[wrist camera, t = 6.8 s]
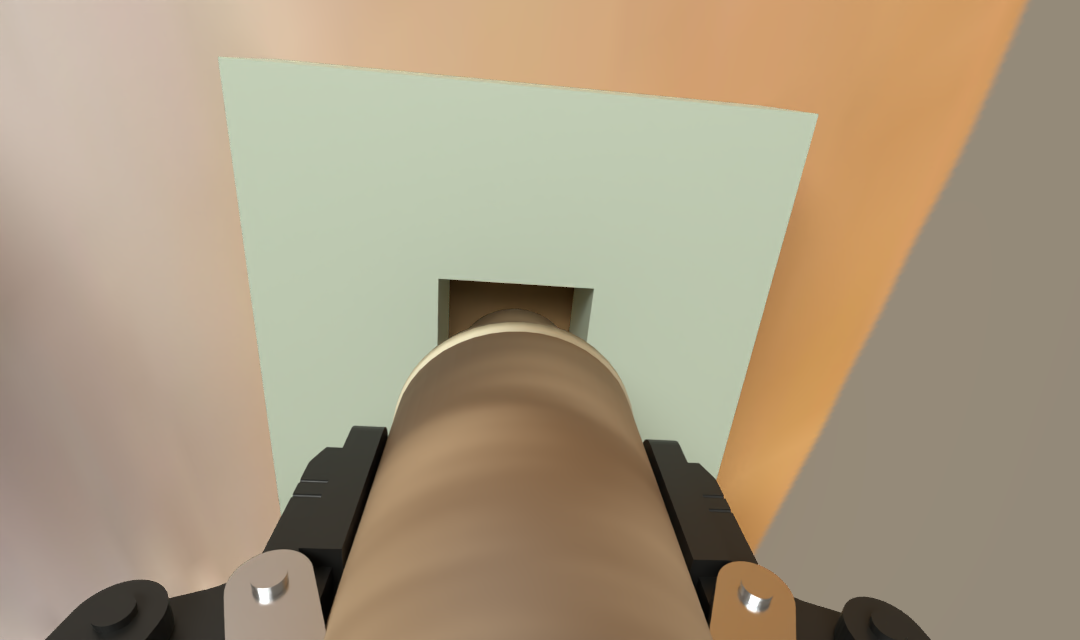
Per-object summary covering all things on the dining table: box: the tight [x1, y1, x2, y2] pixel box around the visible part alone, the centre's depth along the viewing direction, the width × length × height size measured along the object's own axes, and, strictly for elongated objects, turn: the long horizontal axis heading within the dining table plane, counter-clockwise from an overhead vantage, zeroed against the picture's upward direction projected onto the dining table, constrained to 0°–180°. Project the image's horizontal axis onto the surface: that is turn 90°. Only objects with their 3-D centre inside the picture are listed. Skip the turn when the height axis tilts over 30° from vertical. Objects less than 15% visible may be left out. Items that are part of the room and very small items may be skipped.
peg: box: [324, 309, 713, 640], centre depth 12 cm, size 6×6×12 cm
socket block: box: [218, 57, 818, 516], centre depth 20 cm, size 16×16×4 cm
